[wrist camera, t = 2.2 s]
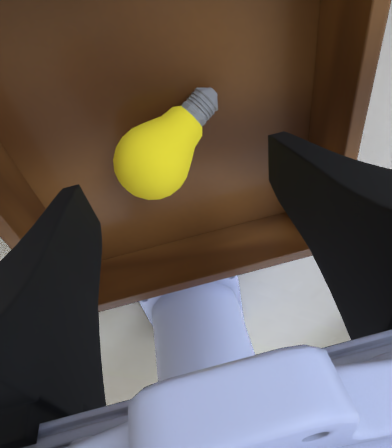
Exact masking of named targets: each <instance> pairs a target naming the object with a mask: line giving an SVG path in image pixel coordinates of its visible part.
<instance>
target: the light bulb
mask: <svg viewBox="0 0 392 448" xmlns="http://www.w3.org/2000/svg"><path fill="white" fill-rule="evenodd" d="M217 96H218V95H217V93H216V92H215V90H214V89H212V88H211V87H209V88H198V87H197V88H195V89H194V92H192V93H191V95H189V98H186V101H184V102H183V104H182V106H175V107H172V108H171V109H169V110H168V111H167V112H166V113H164V114H163V115H162V116H160V117H158V118H155V119H152V120H150V121H147V122H145V123H143V124H140V125H138V126H136V127H134V128H132V129H131V130H129V131H128V132H127V133H126V134H125V135H124V136H122V138H121V140H120V141H119V143H118V145H117V146H116V148H115V153H114V157H113V165H114V172H115V174H116V176H117V179H118V181H119V183H120V184H121V185H122V186H123V187H124V188H125V189H126V190H127V191H128V192H130V193H131V194H132V195H134V196H136V197H139V198H143V199H147V200H158V199H162V198H165V197H168V196H170V195H172V194H173V193H174V192H176V191H177V190H178V189H179V188H180V187H181V186H182V184H183V183H184V181H185V180H186V178H187V175H188V172H189V169H190V165H191V161H192V157H193V153H194V149H195V147H196V145H197V143H198V142H199V140H200V139H201V137H202V126H203V125H205V124H206V121H207V120H209V118H210V117H212V115H214V112H215V111H217V110H218V102H217Z"/></svg>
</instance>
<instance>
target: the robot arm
mask: <svg viewBox="0 0 392 448" xmlns="http://www.w3.org/2000/svg"><path fill="white" fill-rule="evenodd" d="M268 170H269V182H270V184H271V186H272V189H273V191H274V193H275V195H276V197H277V199H278V201H279V203H280V204H281V206H282V207H283V209H284V210H285V212H286V213H287V215H288V216H289V218H290V219H291V221H292V222H293V224H294V225H295V227H296V229H297V230H298V232H299V233H300V235H301V236H302V238H303V239H304V241H305V242H306V244H307V246H308V247H309V249H310V251H311V253H312V255H313V257H314V259H315V261H316V263H317V265H318V267H319V269H320V270H321V273H322V275H323V277H324V279H325V281H326V283H327V285H328V287H329V289H330V292H331V294H332V296H333V298H334V301H335V303H336V305H337V307H338V310H339V312H340V314H341V316H342V319H343V321H344V324H345V326H346V329H347V331H348V333H349V336H350V338H351V340H350V341H347V342H343V343H339V344H335V345H332V346H328V347H324V348H319V347H314V346H309V345H298V346H291V347H284V348H279V349H275V350H272V351H268V352H264V353H260V354H257V355H255V352H254V349H253V346H252V343H251V340H250V337H249V334H248V331H247V328H246V325H245V322H244V317H243V310H242V303H241V296H240V289H239V281H238V275H237V276H233V277H229V278H225V279H222V280H218V281H214V282H210V283H206V284H203V285H199V286H195V287H191V288H188V289H184V290H180V291H176V292H172V293H169V294H165V295H161V296H157V297H153V298H150V299H146V300H142V301H138V302H139V303H140V305H141V307H142V309H143V310H144V312H145V314H146V316H147V317H148V319H149V321H150V323H151V324H152V326H153V330H154V341H155V352H156V363H157V374H158V382H157V383H154V384H151V385H149V386H146V387H144V388H143V389H142V390H141V391H140V392H139V393H137V394H136V395H135V396H134V397H133V398H132V399H130V400H127V401H123V402H119V403H115V404H112V405H108V406H106V401H105V393H104V385H103V374H102V363H101V352H100V336H99V314H98V298H99V284H100V272H101V259H102V233H101V223H100V221H99V220H98V218H97V216H96V214H95V212H94V211H93V209H92V207H91V205H90V203H89V201H88V200H87V198H86V196H85V194H84V192H83V191H82V189H81V187H80V185H79V184H78V185H74V186H70V187H66V188H63V189H62V190H61V191H60V192H59V193H58V194H57V196H56V197H55V198H54V199H53V201H52V202H51V203H50V204H49V206H48V207H47V208H46V210H45V211H44V212H43V213H42V215H41V216H40V217H39V218H38V220H37V221H36V222H35V224H34V225H33V226H32V227H31V228H30V229H29V231H28V232H27V233H26V234H25V235H24V236H23V238H22V239H21V240H20V241H19V242H18V243H17V245H16V246H15V247H14V248H13V249H12V250H11V251H10V252H9V253H8V254H7V255H6V256H5V257H4V258H3V259H2V260H1V261H0V448H392V169H387V168H383V167H379V166H375V165H372V164H368V163H364V162H361V161H358V160H355V159H352V158H349V157H346V156H343V155H341V154H338V153H335V152H333V151H330V150H328V149H325V148H323V147H320V146H318V145H316V144H313V143H311V142H309V141H307V140H304V139H302V138H300V137H298V136H295V135H293V134H290V133H288V132H285V131H283V132H279V133H275V134H271V135H268Z"/></svg>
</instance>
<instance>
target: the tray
mask: <svg viewBox="0 0 392 448" xmlns="http://www.w3.org/2000/svg"><path fill="white" fill-rule="evenodd" d="M390 4H391V0H0V237H1V238H2V239H3V240H4V242H5V243H6V244H7V245H8V246H9V247H10V248H11V249H13V248H14V247H15V246H16V245H17V243H18V242H19V241H20V240H21V239H22V238H23V236H24V235H25V234H26V233H27V232H28V231H29V229H30V228H31V227H32V226H33V225H34V224H35V222H36V221H37V220H38V218H39V217H40V216H41V215H42V213H43V212H44V211H45V210H46V208H47V207H48V206H49V204H50V203H51V202H52V201H53V199H54V198H55V197H56V196H57V194H58V193H59V192H60V191H61V190H62V189H63V188H66V187H70V186H74V185H78V184H79V185H80V187H81V189H82V191H83V192H84V194H85V196H86V198H87V200H88V201H89V203H90V205H91V207H92V209H93V211H94V212H95V214H96V216H97V218H98V220H99V221H100V223H101V233H102V259H101V272H100V284H99V298H98V312H100V311H104V310H108V309H112V308H116V307H119V306H123V305H127V304H131V303H135V302H138V301H142V300H146V299H150V298H153V297H157V296H161V295H165V294H169V293H172V292H176V291H180V290H184V289H188V288H191V287H195V286H199V285H203V284H206V283H210V282H214V281H218V280H222V279H225V278H229V277H233V276H237V275H240V274H244V273H248V272H252V271H256V270H259V269H263V268H267V267H271V266H275V265H278V264H282V263H286V262H290V261H293V260H297V259H301V258H305V257H309V256H312V253H311V251H310V249H309V247H308V246H307V244H306V242H305V241H304V239H303V238H302V236H301V235H300V233H299V232H298V230H297V229H296V227H295V225H294V224H293V222H292V221H291V219H290V218H289V216H288V215H287V213H286V212H285V210H284V209H283V207H282V206H281V204H280V203H279V201H278V199H277V197H276V195H275V193H274V191H273V189H272V186H271V184H270V182H269V170H268V135H271V134H275V133H279V132H283V131H285V132H288V133H290V134H293V135H295V136H298V137H300V138H302V139H304V140H307V141H309V142H311V143H313V144H316V145H318V146H320V147H323V148H325V149H328V150H330V151H333V152H335V153H338V154H341V155H343V156H346V157H349V158H352V159H355V160H357V157H358V152H359V148H360V143H361V138H362V134H363V129H364V124H365V120H366V115H367V111H368V106H369V101H370V97H371V92H372V87H373V83H374V78H375V74H376V69H377V64H378V60H379V55H380V50H381V46H382V41H383V36H384V32H385V27H386V23H387V18H388V13H389V9H390ZM197 87H198V88H209V87H211V88H212V89H214V90H215V92H216V93H217V95H218V96H217V102H218V110H217V111H215V112H214V115H212V117H210V118H209V120H207V121H206V124H205V125H203V126H202V137H201V139H200V140H199V142H198V143H197V145H196V147H195V149H194V153H193V157H192V161H191V165H190V169H189V172H188V175H187V178H186V180H185V181H184V183H183V184H182V186H181V187H180V188H179V189H178V190H177V191H176V192H174V193H173V194H172V195H170V196H168V197H165V198H162V199H158V200H147V199H143V198H139V197H136V196H134V195H132V194H131V193H130V192H128V191H127V190H126V189H125V188H124V187H123V186H122V185H121V184H120V183H119V181H118V179H117V176H116V174H115V172H114V165H113V157H114V153H115V148H116V146H117V145H118V143H119V141H120V140H121V138H122V136H124V135H125V134H126V133H127V132H128V131H129V130H131V129H132V128H134V127H136V126H138V125H140V124H143V123H145V122H147V121H150V120H152V119H155V118H158V117H160V116H162V115H163V114H164V113H166V112H167V111H168V110H169V109H171V108H172V107H175V106H182V104H183V102H184V101H186V98H189V95H191V93H192V92H194V89H195V88H197Z"/></svg>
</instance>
